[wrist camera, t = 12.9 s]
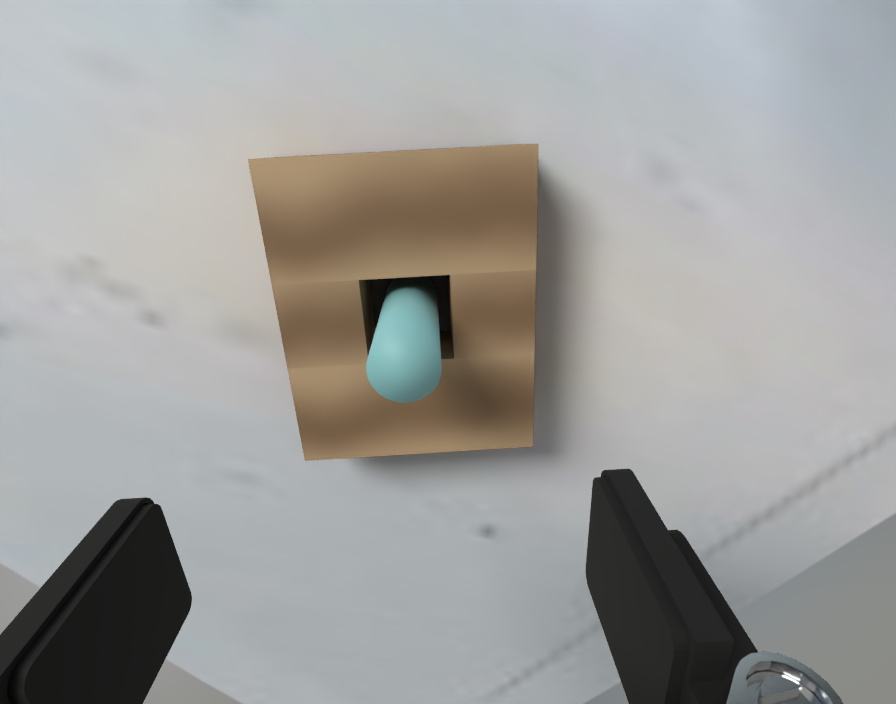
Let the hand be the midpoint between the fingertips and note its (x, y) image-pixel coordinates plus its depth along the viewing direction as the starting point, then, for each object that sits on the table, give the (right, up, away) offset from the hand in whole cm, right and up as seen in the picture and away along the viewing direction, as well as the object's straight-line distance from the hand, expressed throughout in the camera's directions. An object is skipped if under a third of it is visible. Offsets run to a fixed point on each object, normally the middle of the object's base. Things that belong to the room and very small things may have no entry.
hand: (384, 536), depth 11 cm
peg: (-1, +7, +18) cm, 20 cm away
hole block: (-1, +7, +18) cm, 20 cm away
